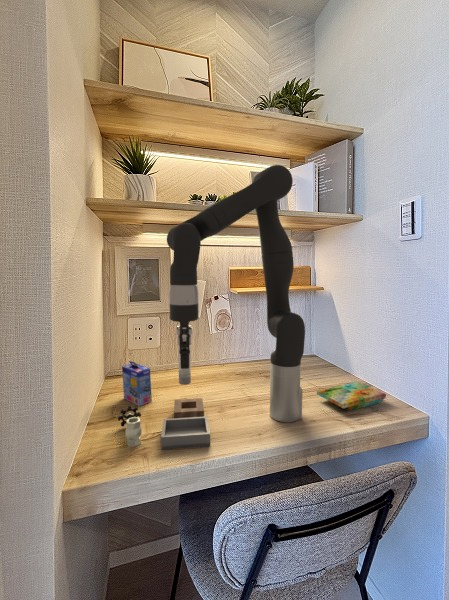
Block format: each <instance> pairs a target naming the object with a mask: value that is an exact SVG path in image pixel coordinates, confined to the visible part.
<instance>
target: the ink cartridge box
mask: <svg viewBox="0 0 449 600" xmlns="http://www.w3.org/2000/svg"><path fill="white" fill-rule="evenodd" d="M128 361H129V364H125V365H122V367H121V369H122V387H123V388H122V390H123V391H122V392H123V399H124V400H126V401H128V402H130V403H132V404H134V405H136V406H137V407H141V406H143V405H145V404H149V403H152V401H153V398H152V397H153V396H152V395H153V394H152V381H151V379H152V377H151V368H150V367H148V366H144V365H141V364H139V363H136V362H135V361H132V360H128Z"/></svg>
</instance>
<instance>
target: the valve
mask: <svg viewBox="0 0 449 600" xmlns="http://www.w3.org/2000/svg"><path fill="white" fill-rule="evenodd" d="M138 407H139V406H138V405H136V406H134V407H133V408H132V406H131V404H128V405H127V406H126V408H127V409H124V408H121V409H120V412H119V413H120V414H121V415H118V416H117V420H118V421H119V422H120V421H121V422H120V427H123V428H124V426H125V425H126V428H125V430H124V431H125V432H124V433H125V437H126V444H127V447H129V448H135V447H138V446H139V445H141V444H142V442H141V441H142V439H141V438H142V437H141V436H142V432H143V431H142V430H143V429H142V427H141V419H140V418H141V416H142V413H141V412H140V411H139V408H138ZM137 411H138V412H137ZM128 412H130V413H128ZM131 412H132V413H134V414H132V413H131ZM125 414H126V415H125ZM125 419H126V420H125Z"/></svg>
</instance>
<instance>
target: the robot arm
mask: <svg viewBox="0 0 449 600" xmlns="http://www.w3.org/2000/svg"><path fill="white" fill-rule="evenodd" d="M292 187H293V175H292V173H291V171H290V170H289V169H288V168H287V167H286V166H285V165H281V164H275V165H270V166H268V167H267V168H265V169H264V170H262V171H261V170H260V172H258V173H257V174H256V175H255V176H253V179H252V181H251V183H250V184H248V185H247V186H245V187H244V188H242V189H240V190H239V191H235V192H234V193H231V194H230V195H228V196H227V197H224V198H223V199H221V200H219V201H217V202H214V203H213V204H211V205H210V206H208V207H207V208H205V209H202V211H200V212H199V213H198V214H196V215H195V216H193V217H191V218H188V219H187V220H185V221H182V222H181V223H179V224H177V225H175V226H173V227H172V228H171V229H170V230H169V231H168V233H167V235H166V244H167V246H168V247H169V248H170V249H171V250H172V251H173V260H172V261H173V262H172V263H171V265H170V268H169V293H168V294H169V319H170V320H171V321H172V322H178V323H179V325H177V327H176V335H177V346H180V351H179V353H180V357H181V369H188V368H189V354H190V351H189V346H190V347H191V345H192V334H193V326H192V325H190V324H189V323H190V322H195V321H197V320H199V312H200V311H199V289H198V265H199V264H198V263H199V260H200V252H201V246H202V245H201V244H202V243H201V242H203V241H204V240H205V239H207V238H210V237H213V236H215V235H217V234H219V233H221V232H222V231H224V230H226V229H227V228H228V227H229V226H231V225H233V224H234V223H235V222H237V221H239V220H240V219H242V218H243V217H244V216H247V215H248V214H250V213H251V212H252V211H255V213H256V218H257V224H258V226H257V227H258V233H259V234H258V235H259V243H260V250H261V251H260V253H261V264H262V270H263V278H264V286H265V292H266V293H265V294H266V324H267V329H268V332H269V334H270V335H271V336H272V337H273V338H275V339H276V340H275V341H276V343H275V350H273V351H272V352H271V353H270V367H269V369H270V370H269V371H270V372H269V373H270V374H269V376H270V379H269V380H270V381H269V383H270V384H269V389H270V390H269V416H270V417H271V419H273V420H275V421H276V422H277V421H278V422H282V423H294V422H296V421H298V420H303V391H304V390H303V388H302V387H301V369H302V368H301V367H302V366H301V364H302V358H303V356H304V352H305V342H306V341H305V340H306V339H305V337H306V325H305V322H304V319H303V317H301V315H299V314H297V313H295V312H292V311H291V306H290V298H289V296H290V295H289V290H290V286H291V282H292V279H293V274H294V266H295V265H294V253H293V245H292V243H291V240H290V238H289V235H288V234H287V232H286V231H285V228H284V227H283V225H282V223H281V220H280V217H279V208H278V201H279V200H280V199H281V200H282V199H283V198H285V197H286V196H287V195H288V194H289V193H290V191H291V189H292ZM182 347H187V348H188V350H187V349H182Z"/></svg>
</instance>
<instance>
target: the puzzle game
mask: <svg viewBox="0 0 449 600" xmlns="http://www.w3.org/2000/svg"><path fill="white" fill-rule="evenodd" d="M316 395H317V396H319V397H321V398H323V399H325V400H326V401H328V402H330V403H332V404H334V405H336V406H338V407H340V408H342V409H343V410H345V411H346V412H350V411H354V410H357V409H361V408H365V407H366V408H367V407H369V406H372V405H373V406H374V405H376V404H380V403H381V402H383V401H384V400H385V399H386V398H387V394H386V393H385V392H383V391H380V390H378V389H376V388H373V387H370V386H369V385H365V384H363V383H361V382H357V381H355V382H350V383H346V384H343V385H338V386H334V387H329V388H324V389H321V390H320V389H319V390H316Z"/></svg>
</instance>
